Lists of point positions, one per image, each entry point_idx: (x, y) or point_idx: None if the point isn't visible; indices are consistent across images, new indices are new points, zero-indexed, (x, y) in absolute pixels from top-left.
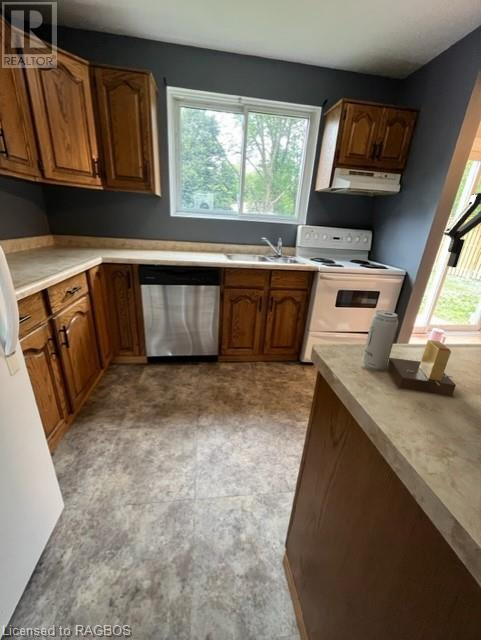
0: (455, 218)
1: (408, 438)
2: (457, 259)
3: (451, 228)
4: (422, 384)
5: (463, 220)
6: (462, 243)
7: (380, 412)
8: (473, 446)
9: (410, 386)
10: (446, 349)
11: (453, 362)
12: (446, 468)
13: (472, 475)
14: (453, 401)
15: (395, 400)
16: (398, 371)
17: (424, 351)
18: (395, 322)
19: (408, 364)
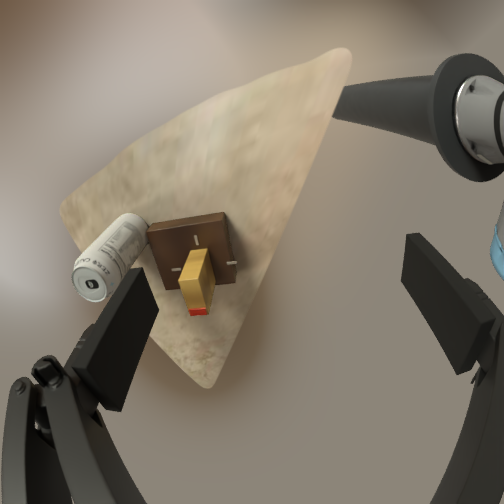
0: (4, 463)
1: (179, 350)
2: (145, 334)
3: (40, 436)
4: None
5: (62, 488)
6: (121, 394)
7: (154, 327)
8: (231, 344)
9: None
10: (201, 314)
11: (281, 140)
12: (203, 366)
13: (220, 367)
14: (235, 283)
15: (166, 304)
16: (160, 274)
17: (183, 268)
18: (111, 293)
19: (174, 245)
